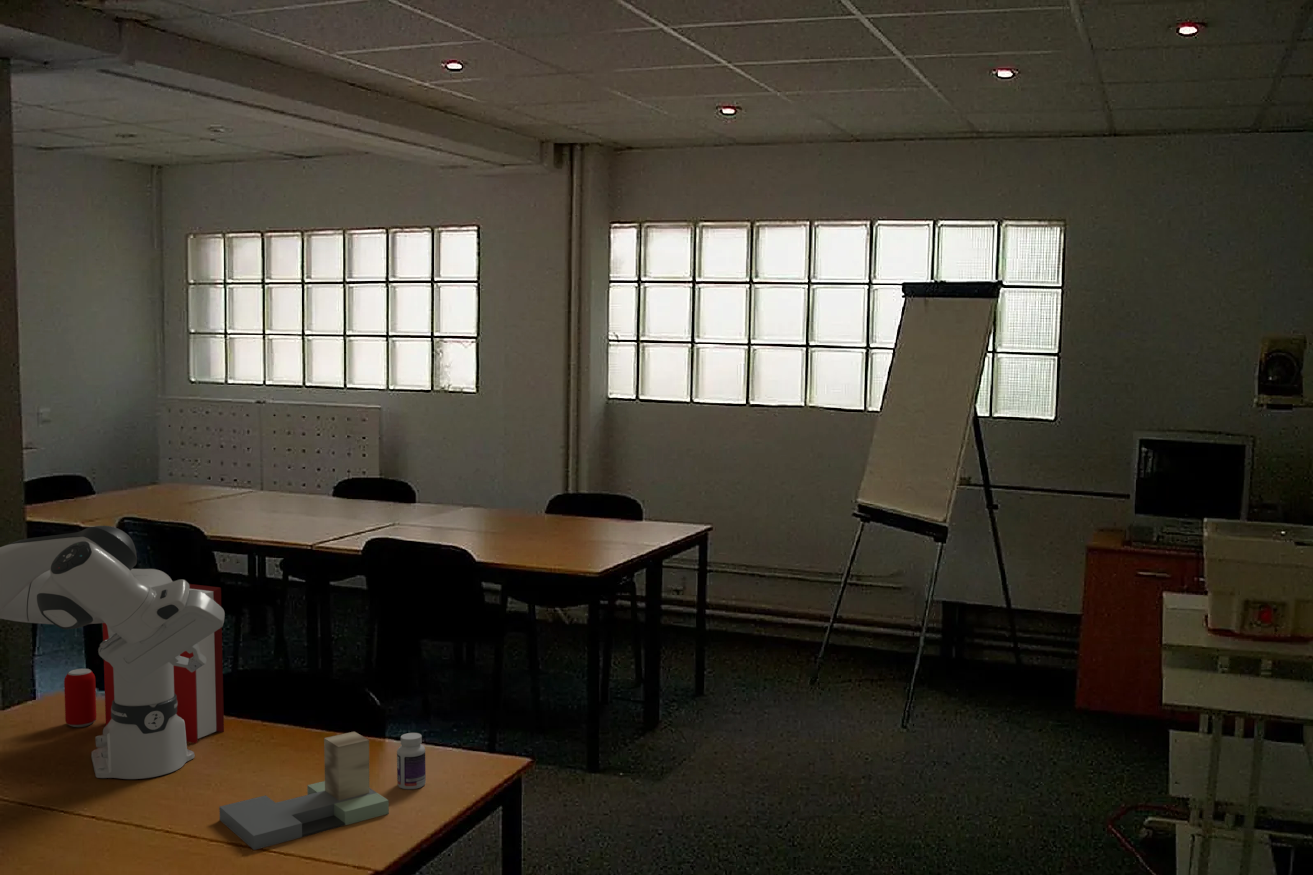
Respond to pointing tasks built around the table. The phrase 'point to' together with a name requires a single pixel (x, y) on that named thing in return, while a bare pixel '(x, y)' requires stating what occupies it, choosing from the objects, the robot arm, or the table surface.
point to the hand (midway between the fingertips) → (199, 665)
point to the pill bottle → (411, 762)
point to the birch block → (346, 765)
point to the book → (191, 683)
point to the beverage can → (80, 698)
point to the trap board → (298, 815)
